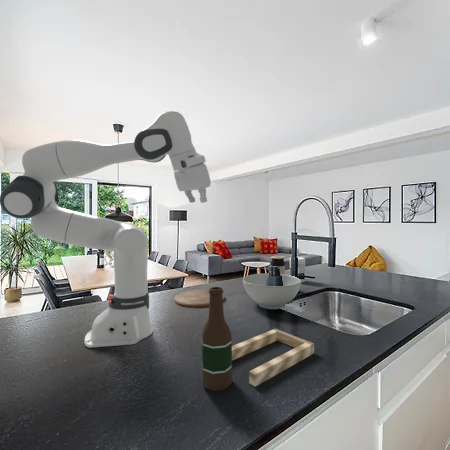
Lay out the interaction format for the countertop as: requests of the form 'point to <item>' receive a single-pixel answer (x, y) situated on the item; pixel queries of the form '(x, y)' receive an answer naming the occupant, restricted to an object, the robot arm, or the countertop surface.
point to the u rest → (279, 363)
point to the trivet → (194, 298)
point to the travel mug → (278, 263)
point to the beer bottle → (216, 345)
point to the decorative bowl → (271, 290)
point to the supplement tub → (300, 266)
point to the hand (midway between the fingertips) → (198, 202)
